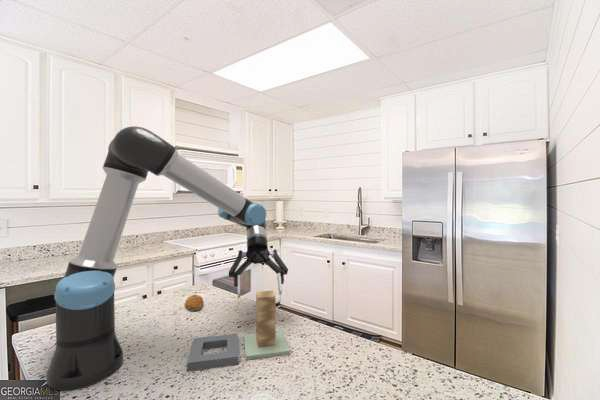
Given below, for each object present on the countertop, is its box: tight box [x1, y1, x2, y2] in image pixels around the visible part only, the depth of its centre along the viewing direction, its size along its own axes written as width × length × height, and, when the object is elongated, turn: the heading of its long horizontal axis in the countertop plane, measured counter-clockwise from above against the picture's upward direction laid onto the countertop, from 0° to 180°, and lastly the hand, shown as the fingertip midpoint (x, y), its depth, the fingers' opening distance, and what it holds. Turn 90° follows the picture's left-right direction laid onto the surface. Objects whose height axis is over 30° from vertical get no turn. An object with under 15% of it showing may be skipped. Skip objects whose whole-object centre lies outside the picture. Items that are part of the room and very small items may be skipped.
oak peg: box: [255, 290, 277, 347], centre depth 83 cm, size 5×5×14 cm
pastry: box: [184, 294, 204, 312], centre depth 111 cm, size 9×7×4 cm
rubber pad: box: [243, 329, 291, 361], centre depth 83 cm, size 12×12×1 cm
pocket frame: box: [186, 333, 240, 372], centre depth 78 cm, size 12×12×2 cm
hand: (260, 293), depth 93 cm, fingers open, 13 cm apart
